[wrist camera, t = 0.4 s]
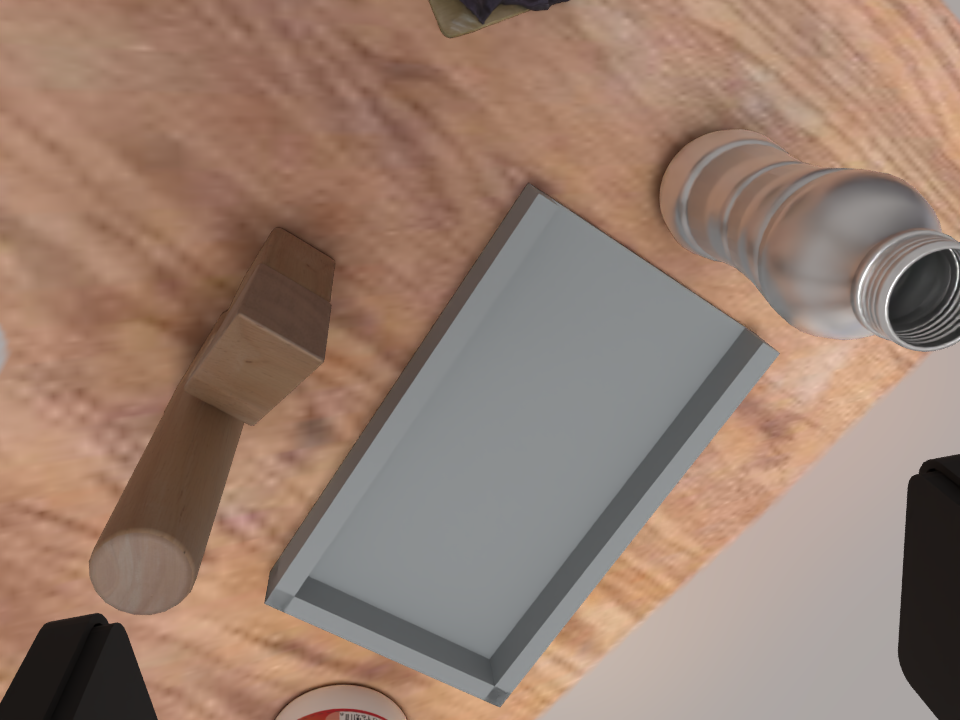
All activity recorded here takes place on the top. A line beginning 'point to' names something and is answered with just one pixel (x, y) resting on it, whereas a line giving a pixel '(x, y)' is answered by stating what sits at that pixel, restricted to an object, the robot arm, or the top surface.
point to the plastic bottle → (818, 239)
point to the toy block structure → (213, 426)
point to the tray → (516, 454)
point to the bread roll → (480, 13)
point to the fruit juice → (342, 705)
